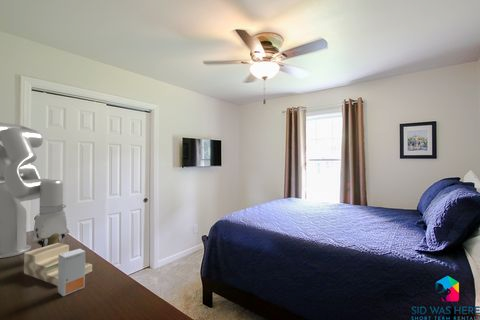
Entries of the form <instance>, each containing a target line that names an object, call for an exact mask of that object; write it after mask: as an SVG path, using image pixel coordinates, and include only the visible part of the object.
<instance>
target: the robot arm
mask: <svg viewBox="0 0 480 320" xmlns="http://www.w3.org/2000/svg"><path fill="white" fill-rule="evenodd" d="M0 142H1V144H0V259H3V258H5V259H6V258H10V257H15V256H18V255H21V254H24V253H25V252H28V251H31V248H32V246H31V245H30V244H27V210H26V208H25V206H24V205H23V204H22V202H26V201H32V200H38V199H39V213H37V214H36V217H35V219H34V224H33V225H34V226H33V236H32V238H31V240H30V242H31V243H34V244H38V245H39V246H41V248H42V247H45V246H48V245H47V243H48V238H49V237H50V236H51V235H53V234H55V233H58V234H59V235H60V236H59V238H58V243H61V242H62V241H63V239H64V238H65V236H67V235H68V234H70V230H69V229H68V226H67V225H68V224H67V216H66V212H65V210H64V209H65V208H67V205H66V204H64V199H63V198H64V182H63V180H60V179H49V178H42V177H41V175H40V173H39V170H38V167H37V166H36V165H35V164H34V162H36V161H37V154H36V152H35V150H34V149H35V148H40V147H41V146H42V144H43V142H44V139H43V136H42V134H41V133H40V132H39V131H37V130H35V129H33V128H30V127H26V126H24V125H21V124H14V123H5V122H0Z"/></svg>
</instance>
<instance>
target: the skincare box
mask: <svg viewBox="0 0 480 320" xmlns="http://www.w3.org/2000/svg"><path fill="white" fill-rule="evenodd" d="M85 263H86V250H85V249H84V250H83V249H82V248H76V249H74V250H69V252H66V253H63V254H59V261H58V286H57V293H58V294H59V295H61V296H62V297H65V296H68V295H70V294H72V293H74V292H77V291H80V290H83V289H85V286H86V285H85V283H86V281H85V280H86V274H85Z"/></svg>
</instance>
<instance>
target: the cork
mask: <svg viewBox="0 0 480 320" xmlns="http://www.w3.org/2000/svg"><path fill="white" fill-rule="evenodd" d="M59 236H60V235H59V234H58V233H55V234H53V235H51V236H50V237H49V238H48V243H47V245H48V246H49V245H52V244H55V243H58V238H59Z"/></svg>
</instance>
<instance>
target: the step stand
mask: <svg viewBox="0 0 480 320" xmlns="http://www.w3.org/2000/svg"><path fill="white" fill-rule="evenodd" d="M69 251H70V245H69V244H65V243H61V242H60V243H55V244H52V245H49V246H45V247H42V246H41V247H39V248H35V249H32V250H29V251H27V252H25V253H23V274H25V275H27V276H29V277H32V278H35V279H38V280H41V281H44V282H46V283H48V284H52V285H54V286H56V287H58V261H59V254H63V253H66V252H69ZM91 272H93V264H92V263H89V262H85V275H87V274H90V273H91Z"/></svg>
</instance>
